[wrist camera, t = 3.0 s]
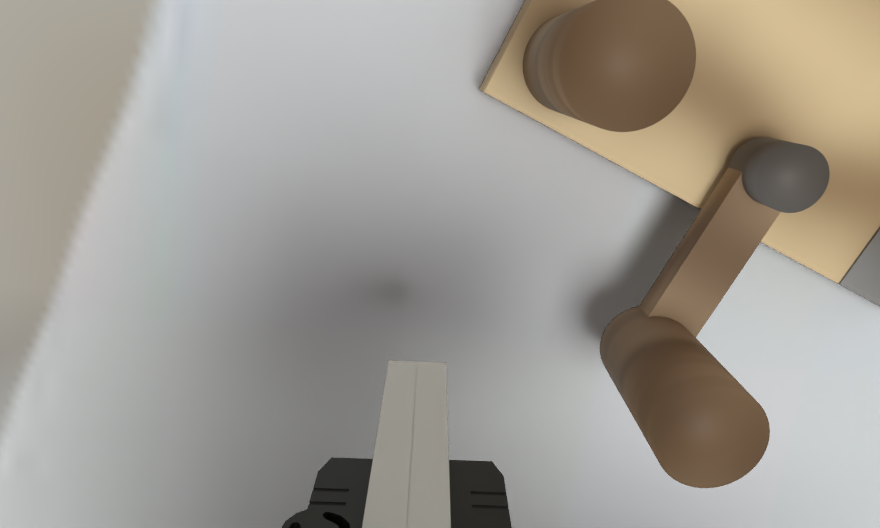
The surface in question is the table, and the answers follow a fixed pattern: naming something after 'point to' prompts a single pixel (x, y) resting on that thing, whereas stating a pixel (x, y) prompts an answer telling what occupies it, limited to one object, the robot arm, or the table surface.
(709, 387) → the hinged leg
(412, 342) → the table surface
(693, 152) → the stool seat
